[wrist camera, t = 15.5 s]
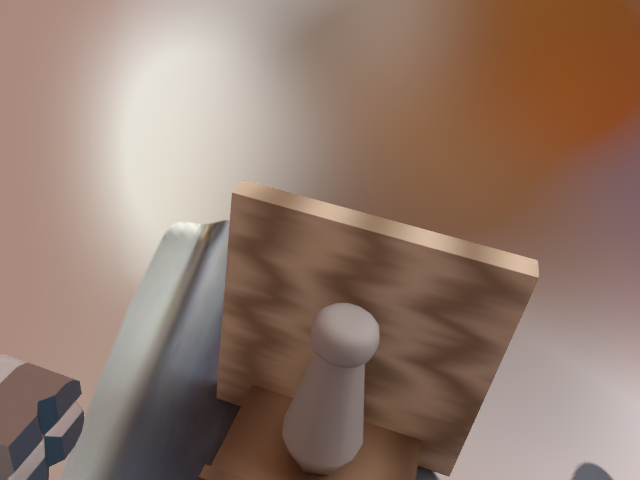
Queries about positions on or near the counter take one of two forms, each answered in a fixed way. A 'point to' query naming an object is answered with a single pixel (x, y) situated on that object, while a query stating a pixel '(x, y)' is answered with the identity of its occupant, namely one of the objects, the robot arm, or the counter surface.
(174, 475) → the counter surface
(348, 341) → the salt shaker
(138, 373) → the counter surface
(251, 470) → the cleat ledge
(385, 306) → the wall board
